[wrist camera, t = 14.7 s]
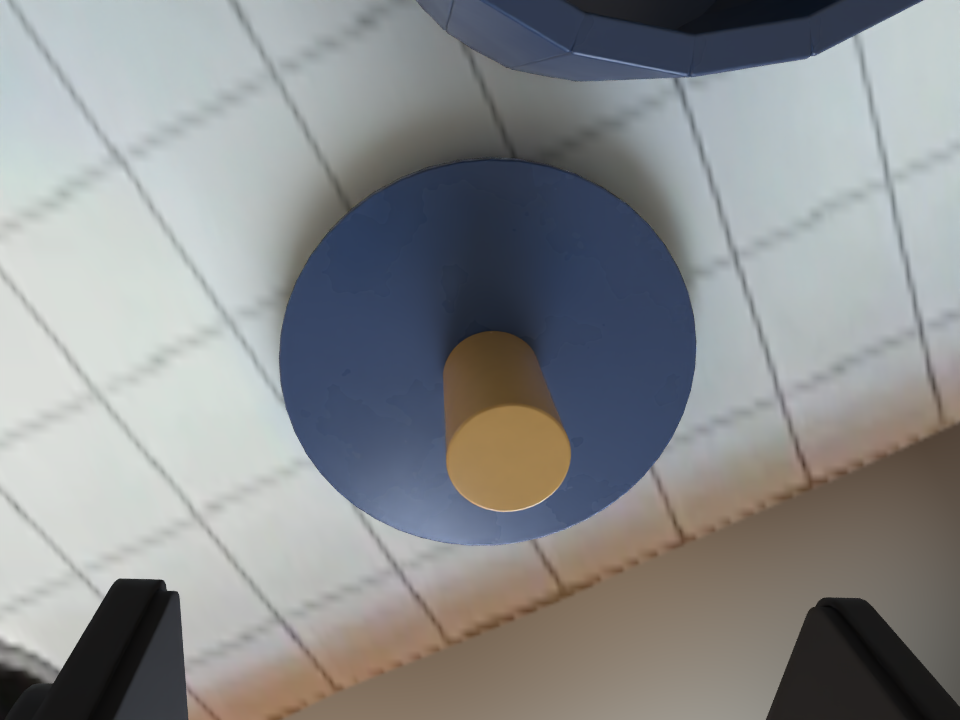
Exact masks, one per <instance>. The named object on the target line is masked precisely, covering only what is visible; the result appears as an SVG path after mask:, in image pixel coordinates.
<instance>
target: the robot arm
mask: <svg viewBox="0 0 960 720" xmlns="http://www.w3.org/2000/svg"><path fill="white" fill-rule="evenodd" d="M5 720H188V709H187V695H186V681H185V667H184V654H183V640H182V626H181V612H180V599H179V594H178V592H177V591H167V589H166V584H165V582H164V580H154V579H118V580H116V581H115V582H114V584H113V585H112V586H111V588H110V589H109V591H108V593H107V594H106V596H105V598H104V599H103V601H102V603H101V605H100V606H99V608H98V610H97V611H96V613H95V615H94V616H93V618H92V620H91V621H90V623H89V625H88V626H87V628H86V630H85V631H84V633H83V635H82V636H81V638H80V640H79V641H78V643H77V645H76V646H75V648H74V650H73V651H72V653H71V655H70V656H69V658H68V660H67V661H66V663H65V665H64V666H63V668H62V670H61V671H60V673H59V675H58V676H57V678H56V680H55V681H54V683H53V684H34V685H32V686H30V687H29V688H28V689H26V690H25V691H24V692H23V693H22V695H21V696H20V697H19V699H18V700H17V701H16V703H15V704H14V705H13V707H12V709H11V710H10V712H9V713H8V715H7V716H6V718H5ZM766 720H960V707H959V706H958V705H957V703H956V702H955V701H954V700H953V699H952V698H951V696H950V695H949V694H948V693H947V692H946V691H945V689H944V688H943V687H942V686H941V685H940V684H939V683H938V682H937V680H936V679H935V678H934V677H933V676H932V675H931V673H930V672H929V671H928V670H927V669H926V668H925V666H924V665H923V664H922V663H921V662H920V661H919V660H918V659H917V657H916V656H915V655H914V654H913V653H912V652H911V650H910V649H909V648H908V647H907V646H906V645H905V644H904V642H903V641H902V640H901V639H900V638H899V637H898V636H897V634H896V633H895V632H894V631H893V630H892V629H891V627H890V626H889V625H888V624H887V623H886V622H885V621H884V619H883V618H882V617H881V616H880V615H879V614H878V613H877V611H876V610H875V609H874V608H873V607H872V606H871V605H870V604H869V603H868V602H867V601H865V600H862V599H860V598H822V599H821V600H820V601H819V602H818V603H817V605H816V606H815V607H813V608H811V609H810V610H809V611H808V614H807V616H806V618H805V621H804V623H803V626H802V628H801V631H800V634H799V636H798V639H797V641H796V644H795V646H794V649H793V652H792V654H791V657H790V659H789V662H788V664H787V667H786V669H785V672H784V675H783V677H782V680H781V682H780V685H779V687H778V690H777V693H776V695H775V698H774V700H773V703H772V706H771V708H770V711H769V713H768V716H767V718H766Z"/></svg>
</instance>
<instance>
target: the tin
mask: <svg viewBox="0 0 960 720" xmlns="http://www.w3.org/2000/svg"><path fill="white" fill-rule="evenodd" d="M416 1H417V2H418V3H419V5H420V6H421V7H422V8H423V9H424V10H425V11H426V12H427V13H428V14H429V15H430V16H431V17H432V18H433V19H434V20H435V21H436V22H437V23H438V24H439V25H440V26H441V28H442V29H443V30H446V32H447V33H448V34H450V35H452V36H453V37H455V38H457V39H458V40H460V41H461V42H463V43H464V44H466V45H467V46H468V47H470V48H471V49H473V50H475V51H477V52H479V53H481V54H483V55H485V56H486V57H488V58H490V59H492V60H494V61H496V62H498V63H500V64H502V65H503V66H505V67H507V68H510V69H512V70H518V71H523V72H527V73H532V74H537V75H542V76H547V77H552V78H560V79H566V80H571V81H604V80H629V79H655V78H680V77H696V76H702V75H708V74H715V73H721V72H727V71H733V70H740V69H746V68H752V67H758V66H764V65H771V64H777V63H783V62H789V61H796V60H802V59H807V58H808V57H810V56H815V55H817V54H819V53H821V52H823V51H825V50H827V49H829V48H831V47H833V46H835V45H837V44H839V43H841V42H843V41H845V40H847V39H849V38H851V37H853V36H855V35H856V34H858V33H860V32H862V31H864V30H866V29H868V28H870V27H872V26H874V25H876V24H878V23H880V22H882V21H884V20H886V19H888V18H890V17H892V16H894V15H896V14H898V13H899V12H901V11H903V10H905V9H907V8H909V7H911V6H913V5H915V4H917V3H919V2H921V1H923V0H416Z"/></svg>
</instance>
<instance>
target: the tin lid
mask: <svg viewBox="0 0 960 720" xmlns="http://www.w3.org/2000/svg"><path fill="white" fill-rule="evenodd" d="M695 358H696V334H695V323H694V315H693V311H692V307H691V302H690V298H689V294H688V291H687V288H686V286H685V283H684V281H683V278H682V276H681V273H680V271H679V268H678V266H677V265H676V263H675V261H674V260H673V258H672V256H671V254H670V253H669V251H668V249H667V248H666V246H665V244H664V243H663V242H662V240H661V239H660V238H659V237H658V235H657V234H656V233H655V232H654V230H653V229H652V228H651V227H650V225H649V224H648V223H647V222H646V221H645V220H644V219H643V218H641V217H640V216H639V215H638V214H637V213H636V212H635V211H634V210H633V209H632V208H631V207H630V206H629V205H628V204H626V203H625V202H623V201H622V200H620V199H619V198H617V197H616V196H615V195H613V194H612V193H610V192H609V191H607V190H606V189H604V188H603V187H601V186H599V185H597V184H595V183H593V182H591V181H589V180H587V179H585V178H583V177H581V176H579V175H577V174H575V173H572V172H569V171H566V170H563V169H560V168H557V167H554V166H551V165H548V164H544V163H539V162H534V161H528V160H523V159H516V158H493V157H485V158H474V159H464V160H456V161H452V162H447V163H443V164H439V165H434V166H430V167H427V168H424V169H422V170H419V171H416V172H414V173H411V174H408V175H406V176H403V177H401V178H399V179H397V180H395V181H393V182H391V183H390V184H388V185H386V186H384V187H382V188H380V189H379V190H377V191H375V192H373V193H372V194H371V195H369V196H368V197H367V198H365V199H364V200H363V201H361V202H360V203H359V204H357V205H356V206H355V207H353V208H352V209H351V210H350V211H349V212H348V213H346V214H345V215H344V216H343V217H342V218H341V219H340V220H339V221H338V222H337V223H336V224H335V225H334V226H333V227H332V228H331V229H330V230H329V232H328V233H327V234H326V236H325V237H324V238H323V240H322V241H321V242H320V244H319V245H318V246H317V247H316V249H315V250H314V251H313V253H312V254H311V256H310V257H309V259H308V261H307V263H306V264H305V266H304V268H303V270H302V272H301V273H300V275H299V277H298V279H297V281H296V283H295V286H294V288H293V291H292V294H291V296H290V299H289V301H288V304H287V307H286V312H285V316H284V320H283V325H282V329H281V337H280V351H279V367H280V381H281V387H282V392H283V397H284V401H285V406H286V410H287V412H288V415H289V418H290V420H291V423H292V426H293V429H294V431H295V433H296V435H297V437H298V439H299V441H300V443H301V444H302V446H303V448H304V450H305V452H306V454H307V455H308V457H309V458H310V459H311V461H312V462H313V463H314V465H315V466H316V468H317V469H318V470H319V472H320V473H321V474H322V475H323V476H324V477H325V478H326V480H327V481H328V482H329V483H330V484H331V485H332V486H333V487H334V488H335V489H336V490H337V491H338V492H339V493H340V494H342V495H343V496H344V497H345V498H346V499H348V500H349V501H350V502H351V503H353V504H354V505H355V506H356V507H358V508H359V509H361V510H363V511H364V512H366V513H367V514H369V515H370V516H372V517H374V518H375V519H377V520H379V521H381V522H383V523H385V524H387V525H389V526H392V527H394V528H396V529H398V530H400V531H403V532H406V533H409V534H412V535H415V536H418V537H421V538H425V539H430V540H434V541H439V542H443V543H451V544H461V545H501V544H510V543H518V542H523V541H527V540H532V539H537V538H541V537H544V536H547V535H550V534H553V533H556V532H559V531H562V530H565V529H567V528H569V527H571V526H574V525H576V524H578V523H580V522H582V521H584V520H586V519H588V518H590V517H591V516H593V515H595V514H597V513H598V512H600V511H602V510H603V509H605V508H607V507H608V506H609V505H611V504H612V503H613V502H615V501H616V500H617V499H618V498H620V497H621V496H622V495H624V494H625V493H626V492H627V491H628V490H629V489H631V488H632V487H633V486H634V485H635V484H636V483H637V482H638V481H639V480H640V479H641V478H642V477H643V476H644V475H645V474H646V472H647V471H648V470H649V469H650V468H651V466H652V465H653V464H654V463H655V462H656V460H657V459H658V458H659V457H660V455H661V454H662V452H663V450H664V449H665V447H666V446H667V444H668V443H669V441H670V440H671V438H672V436H673V434H674V432H675V430H676V428H677V426H678V424H679V422H680V420H681V417H682V415H683V413H684V410H685V407H686V404H687V401H688V397H689V394H690V391H691V386H692V381H693V375H694V370H695Z"/></svg>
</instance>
